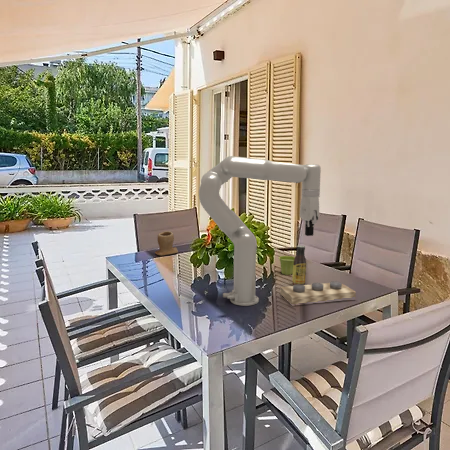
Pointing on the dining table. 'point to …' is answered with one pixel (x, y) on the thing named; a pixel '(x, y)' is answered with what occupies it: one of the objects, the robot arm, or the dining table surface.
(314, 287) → the middle knob
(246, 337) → the dining table surface
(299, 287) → the near knob
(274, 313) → the dining table surface
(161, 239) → the stone cup
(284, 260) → the plant pot
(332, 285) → the far knob
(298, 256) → the sauce bottle
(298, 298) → the knob mount
